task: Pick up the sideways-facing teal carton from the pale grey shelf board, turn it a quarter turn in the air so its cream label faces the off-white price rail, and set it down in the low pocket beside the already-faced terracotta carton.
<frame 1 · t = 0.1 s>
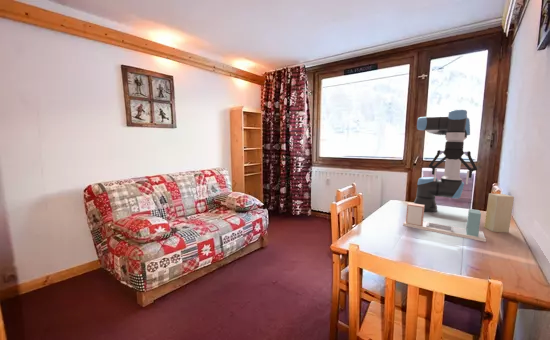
hand: (450, 182, 128), 28 cm above the table, fingers open, 13 cm apart
terracotta carton: (414, 225, 141), point 1 cm above the table, touching shelf
shelf: (441, 231, 136), on the table
teal carton: (471, 233, 129), point 1 cm above the table, touching shelf
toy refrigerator: (495, 232, 136), on the table
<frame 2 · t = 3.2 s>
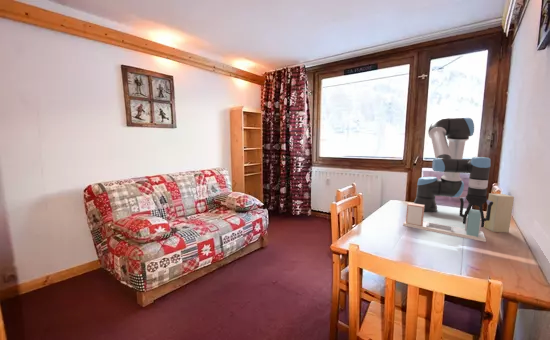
hand: (472, 231, 129), 3 cm above the table, fingers closed on teal carton, 5 cm apart
teal carton: (471, 233, 129), point 2 cm above the table, touching gripper, shelf
everything else where it was.
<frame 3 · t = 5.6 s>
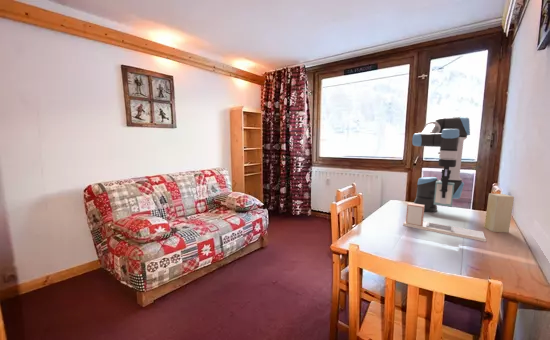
hand: (442, 202, 132), 17 cm above the table, fingers closed on teal carton, 5 cm apart
teal carton: (442, 204, 132), point 15 cm above the table, touching gripper
everything else where it was.
when the fingers open (5 cm above the table, at t = 8.1 s): teal carton drops 2 cm, resting on shelf.
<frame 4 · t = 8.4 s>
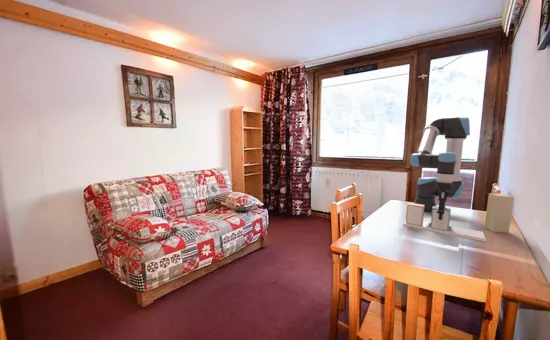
hand: (440, 222, 133), 5 cm above the table, fingers open, 9 cm apart
teal carton: (439, 229, 134), point 1 cm above the table, touching shelf
everything else where it was.
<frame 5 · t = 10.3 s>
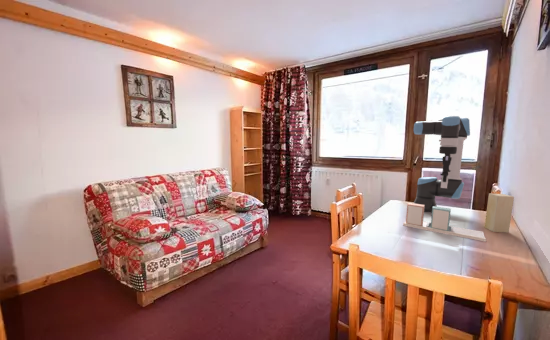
hand: (444, 185, 134), 25 cm above the table, fingers open, 13 cm apart
nothing on the table moved.
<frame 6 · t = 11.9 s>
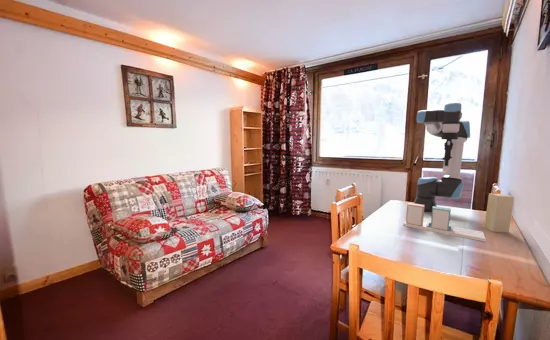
hand: (446, 170, 138), 33 cm above the table, fingers open, 13 cm apart
nothing on the table moved.
at the end: teal carton 0.0 cm from the target spot, point 1.5 cm above the table; teal carton tilted 0°; terracotta carton moved 0.0 cm from its start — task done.
